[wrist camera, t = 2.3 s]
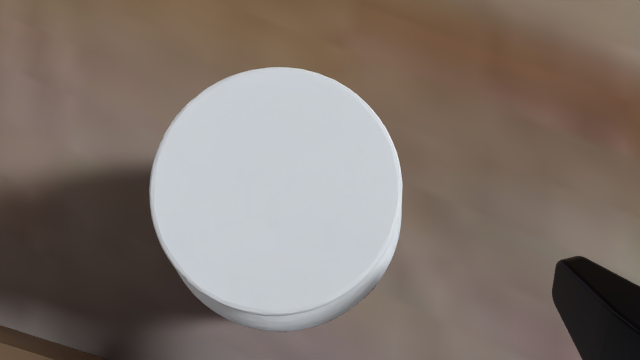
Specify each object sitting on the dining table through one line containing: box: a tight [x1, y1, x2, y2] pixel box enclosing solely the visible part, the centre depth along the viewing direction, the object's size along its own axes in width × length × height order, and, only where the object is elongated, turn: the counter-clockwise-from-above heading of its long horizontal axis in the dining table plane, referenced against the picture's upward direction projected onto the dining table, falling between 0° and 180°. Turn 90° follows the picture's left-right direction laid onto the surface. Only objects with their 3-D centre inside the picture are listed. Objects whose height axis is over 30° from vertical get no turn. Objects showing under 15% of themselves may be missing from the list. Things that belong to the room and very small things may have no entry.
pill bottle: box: [149, 67, 402, 332], centre depth 14 cm, size 6×6×10 cm
